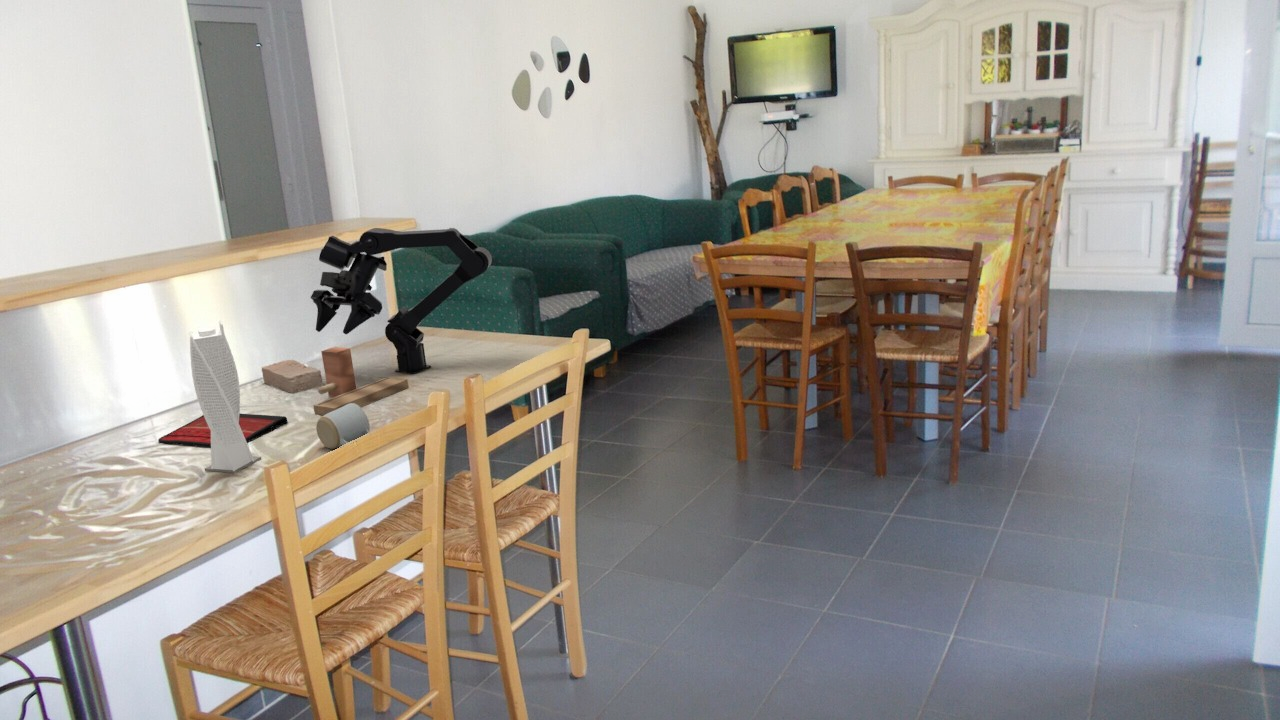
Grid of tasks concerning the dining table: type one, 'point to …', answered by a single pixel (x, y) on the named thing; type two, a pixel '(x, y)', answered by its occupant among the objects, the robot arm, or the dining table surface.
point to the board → (363, 395)
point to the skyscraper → (219, 399)
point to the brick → (292, 376)
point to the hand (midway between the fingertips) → (330, 332)
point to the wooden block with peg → (338, 371)
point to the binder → (201, 432)
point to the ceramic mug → (342, 426)
